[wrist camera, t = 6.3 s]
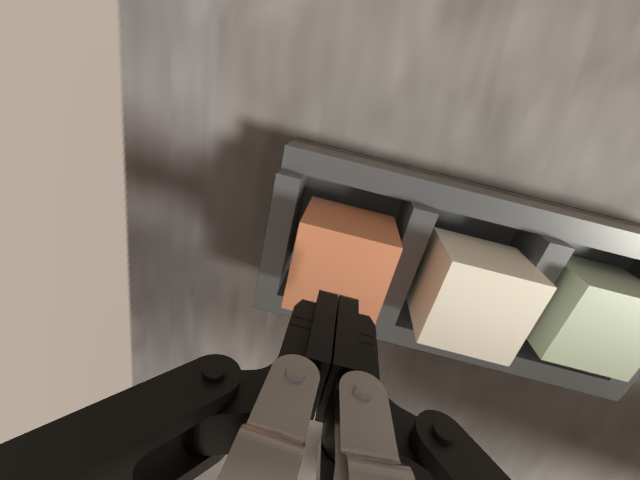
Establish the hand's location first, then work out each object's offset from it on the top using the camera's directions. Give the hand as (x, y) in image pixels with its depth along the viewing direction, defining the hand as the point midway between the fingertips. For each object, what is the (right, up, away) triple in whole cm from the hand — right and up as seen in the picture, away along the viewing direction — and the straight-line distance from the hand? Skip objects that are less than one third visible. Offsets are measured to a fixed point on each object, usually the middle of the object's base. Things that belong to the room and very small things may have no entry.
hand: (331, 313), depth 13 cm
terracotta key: (+1, +3, +6) cm, 6 cm away
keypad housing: (+7, +2, +8) cm, 11 cm away
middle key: (+7, +1, +6) cm, 9 cm away
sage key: (+13, 0, +7) cm, 15 cm away
